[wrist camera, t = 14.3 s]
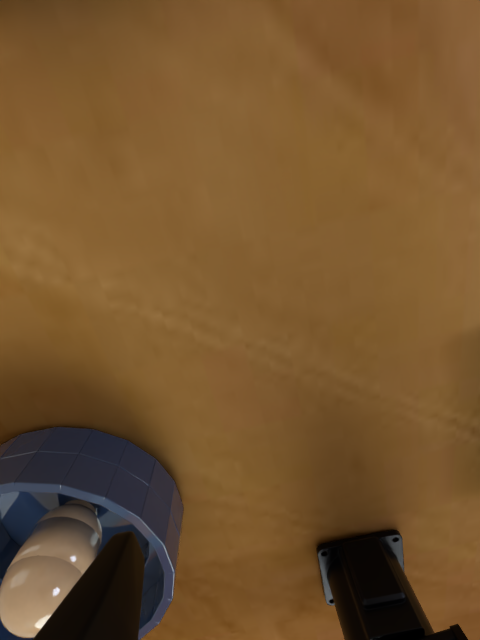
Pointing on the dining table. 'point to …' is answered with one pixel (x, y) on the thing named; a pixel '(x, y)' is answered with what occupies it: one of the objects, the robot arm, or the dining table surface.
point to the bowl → (94, 501)
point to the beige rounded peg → (48, 566)
